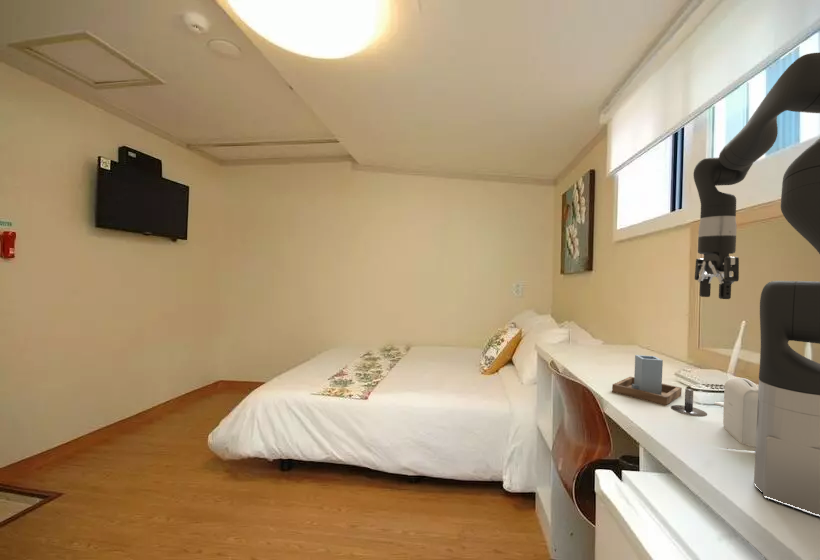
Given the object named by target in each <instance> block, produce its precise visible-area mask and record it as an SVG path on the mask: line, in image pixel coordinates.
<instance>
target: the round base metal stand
mask: <svg viewBox="0 0 820 560" xmlns="http://www.w3.org/2000/svg"><path fill="white" fill-rule="evenodd" d="M684 392H685V393H684V405H681V404H673V405H670V409H671V410H672V411H674V412H677V413H679V414H683V415H686V416H691V417H706V416H708V413H707V412H706V411H704V410H702V409H700V408H696V407H693V406H694V389H692V388H684Z"/></svg>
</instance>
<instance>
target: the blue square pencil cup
mask: <svg viewBox="0 0 820 560" xmlns="http://www.w3.org/2000/svg"><path fill="white" fill-rule="evenodd" d="M663 361H664V360H663V359H661V358H659V357H657V356H655V355H642V354H634V376H633V377H634V384H632V388H634V389H638V390H642V391H647V392H651V393H655V394H659V395H661V393H662V384H663V365H664V364H663V363H664V362H663Z"/></svg>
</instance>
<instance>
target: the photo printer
mask: <svg viewBox="0 0 820 560" xmlns="http://www.w3.org/2000/svg"><path fill="white" fill-rule="evenodd" d="M723 389H724V392H723V398H724V407H723V413H722V414H723V416H722V417H723V419H722V422H723V423H722V424H723V429H725V431H726V432H727V433H728V434H729V435H730V436H732V437H733V438H734V439H735V440H736V441H737V442H739V443H740V444H743V445H746V446H749V447H753V448H755V447H756V427H757V407H758V389H759V385H757V384H756V383H754V381H751V380H750V379H748V378H745V377H738V376H737V377H736V376H734V377H733V376H732V377H730V378H728V379H727V380H726V381H725V382H724V388H723Z"/></svg>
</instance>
